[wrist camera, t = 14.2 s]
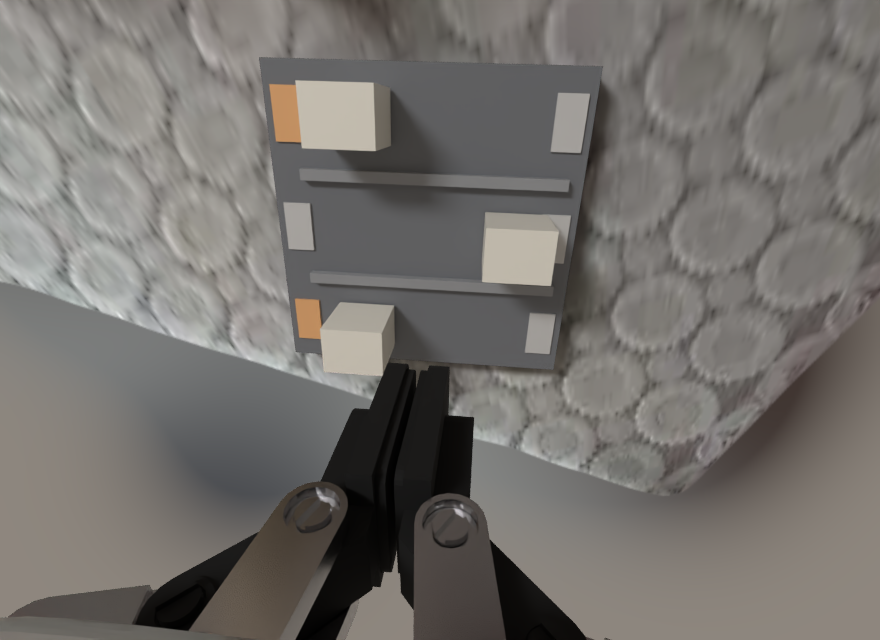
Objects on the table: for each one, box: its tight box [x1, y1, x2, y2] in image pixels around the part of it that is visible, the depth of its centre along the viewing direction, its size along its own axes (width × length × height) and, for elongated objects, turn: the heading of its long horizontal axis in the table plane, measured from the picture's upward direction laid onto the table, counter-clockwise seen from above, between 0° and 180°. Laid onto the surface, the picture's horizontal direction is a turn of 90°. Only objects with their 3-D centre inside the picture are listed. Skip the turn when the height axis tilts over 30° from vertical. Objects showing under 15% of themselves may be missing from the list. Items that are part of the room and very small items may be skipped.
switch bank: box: [259, 57, 603, 370], centre depth 30 cm, size 20×20×3 cm
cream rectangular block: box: [295, 80, 391, 151], centre depth 25 cm, size 4×3×4 cm
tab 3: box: [482, 212, 559, 286], centre depth 27 cm, size 4×3×4 cm
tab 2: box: [320, 302, 395, 376], centre depth 31 cm, size 4×3×4 cm
